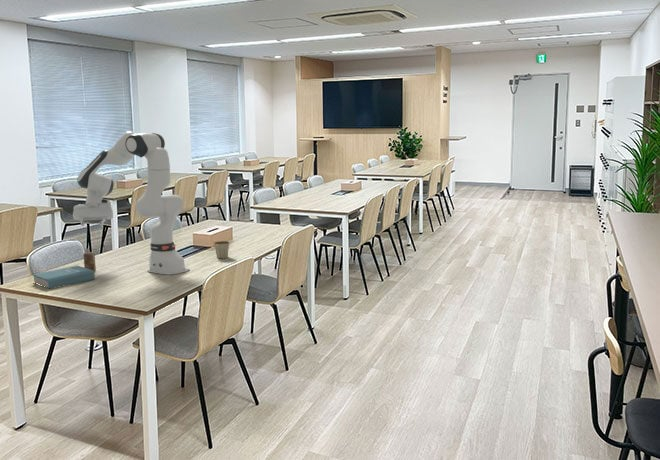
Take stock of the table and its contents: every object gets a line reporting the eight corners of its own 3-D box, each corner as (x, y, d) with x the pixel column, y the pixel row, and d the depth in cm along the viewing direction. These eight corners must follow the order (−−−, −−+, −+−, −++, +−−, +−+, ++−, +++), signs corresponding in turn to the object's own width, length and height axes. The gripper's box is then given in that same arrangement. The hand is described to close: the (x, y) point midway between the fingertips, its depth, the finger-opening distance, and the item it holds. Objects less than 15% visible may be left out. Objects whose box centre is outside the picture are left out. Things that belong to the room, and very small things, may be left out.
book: (78, 275, 308) (77, 265, 307) (94, 280, 298) (93, 270, 297) (33, 284, 291) (32, 274, 290) (49, 290, 281) (48, 279, 280)
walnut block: (95, 270, 316) (94, 251, 314) (94, 272, 311) (92, 253, 310) (86, 270, 315) (85, 252, 313) (84, 273, 311) (83, 254, 309)
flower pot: (210, 258, 343) (209, 243, 341) (220, 254, 351) (220, 240, 350) (223, 259, 339) (223, 244, 337) (233, 256, 347) (233, 241, 345)
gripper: (72, 201, 324) (69, 222, 317) (112, 200, 328) (110, 221, 320) (75, 208, 330) (72, 229, 322) (114, 207, 333) (112, 228, 326)
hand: (91, 225), depth 321 cm, fingers open, 8 cm apart
